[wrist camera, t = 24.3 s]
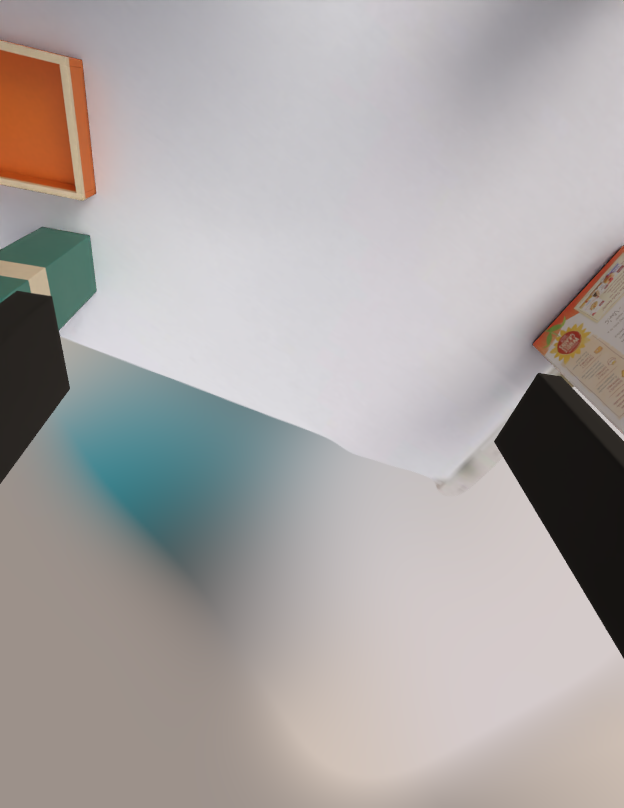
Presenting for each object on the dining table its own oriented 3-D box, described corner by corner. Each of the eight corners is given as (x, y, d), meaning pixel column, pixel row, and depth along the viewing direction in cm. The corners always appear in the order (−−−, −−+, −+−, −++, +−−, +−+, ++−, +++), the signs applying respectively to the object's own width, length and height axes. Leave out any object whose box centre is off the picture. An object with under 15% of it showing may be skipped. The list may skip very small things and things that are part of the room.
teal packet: (41, 226, 40) (-71, 287, 28) (90, 235, 41) (2, 298, 28) (52, 284, 44) (-43, 361, 31) (97, 291, 45) (22, 370, 32)
